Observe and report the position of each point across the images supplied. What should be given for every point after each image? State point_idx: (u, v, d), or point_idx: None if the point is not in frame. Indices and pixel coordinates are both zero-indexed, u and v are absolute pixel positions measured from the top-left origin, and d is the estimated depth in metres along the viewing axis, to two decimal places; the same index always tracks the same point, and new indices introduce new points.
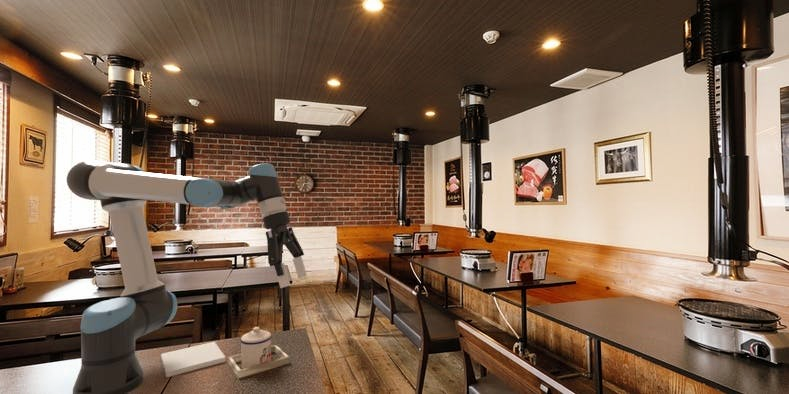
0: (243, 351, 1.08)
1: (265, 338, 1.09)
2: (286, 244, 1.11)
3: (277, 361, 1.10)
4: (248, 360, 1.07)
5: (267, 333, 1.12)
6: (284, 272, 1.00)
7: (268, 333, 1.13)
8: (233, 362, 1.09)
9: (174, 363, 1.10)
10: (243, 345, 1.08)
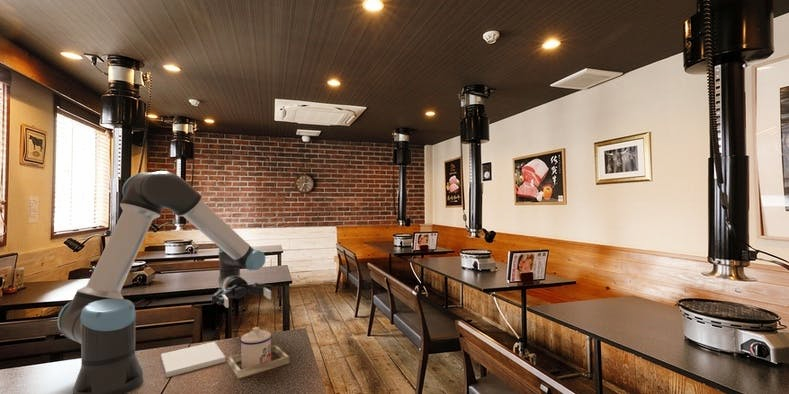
0: (243, 351, 1.08)
1: (265, 338, 1.09)
2: (231, 291, 1.27)
3: (277, 361, 1.10)
4: (248, 361, 1.07)
5: (267, 333, 1.12)
6: None
7: (268, 333, 1.13)
8: (233, 362, 1.09)
9: (174, 363, 1.10)
10: (243, 345, 1.08)
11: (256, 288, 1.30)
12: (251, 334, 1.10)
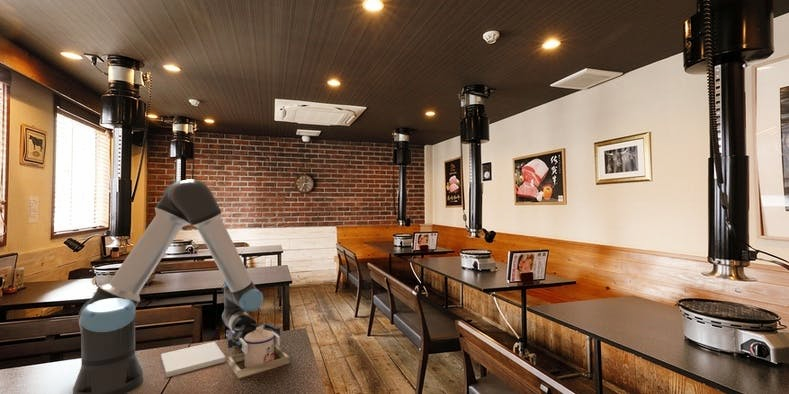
0: None
1: (269, 337, 1.10)
2: (243, 333, 1.17)
3: (277, 361, 1.10)
4: (252, 360, 1.08)
5: (270, 332, 1.13)
6: None
7: (271, 332, 1.13)
8: (233, 362, 1.09)
9: (174, 363, 1.10)
10: None
11: None
12: (255, 333, 1.10)
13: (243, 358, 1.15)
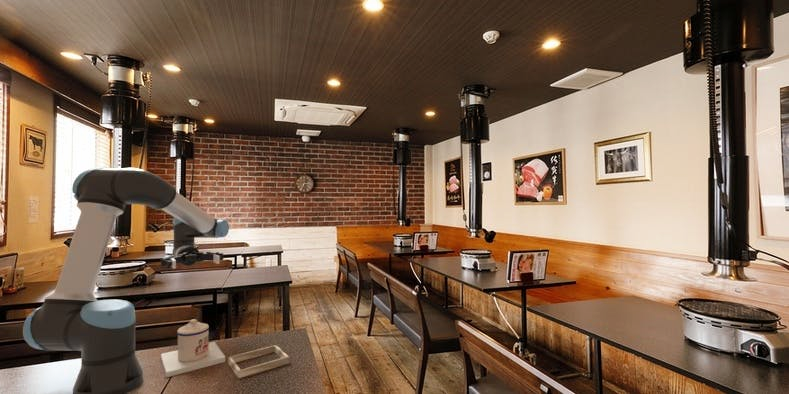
0: (179, 342, 1.11)
1: (201, 330, 1.13)
2: (181, 257, 1.32)
3: (277, 361, 1.10)
4: (183, 352, 1.11)
5: (204, 325, 1.16)
6: None
7: (205, 325, 1.16)
8: (233, 362, 1.09)
9: (174, 363, 1.10)
10: (179, 337, 1.11)
11: (206, 255, 1.36)
12: (187, 326, 1.13)
13: (243, 358, 1.15)
